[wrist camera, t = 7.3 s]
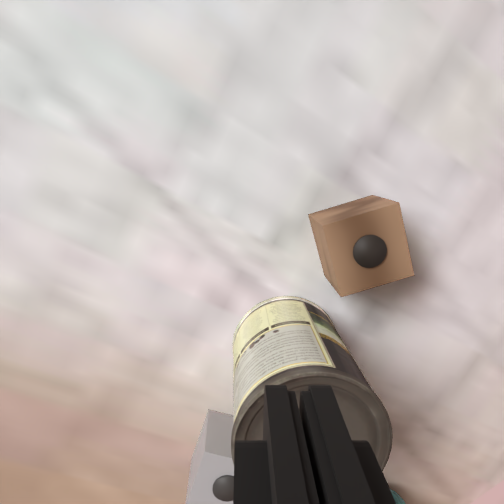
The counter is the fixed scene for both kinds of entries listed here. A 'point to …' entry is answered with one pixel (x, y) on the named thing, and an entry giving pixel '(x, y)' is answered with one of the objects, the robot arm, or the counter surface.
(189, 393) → the counter surface
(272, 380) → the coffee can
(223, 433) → the grey dotted block
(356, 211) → the walnut dotted block
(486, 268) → the counter surface
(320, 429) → the robot arm
